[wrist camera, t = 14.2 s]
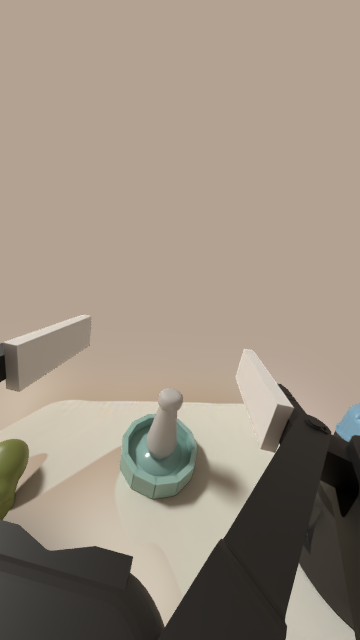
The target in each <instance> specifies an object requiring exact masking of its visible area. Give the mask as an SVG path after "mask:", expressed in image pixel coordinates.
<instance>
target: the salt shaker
mask: <svg viewBox="0 0 360 640" xmlns="http://www.w3.org/2000/svg"><path fill="white" fill-rule="evenodd" d="M182 402H183V397H182V394H181V393H180V392H179V391H178V390H176V389H174V388H166V389H164V390H162V391H161V392H160V395H159V398H158V403H159V409H158V411H157V413H156V416H155V418H154V420H153V423H152V425H151V428H150V430H149V432H148V435H147V442H146V445H147V448H148V450H149V452H150V456H151V457H152V458H154V459H156V460H158V461H161V460H163V459H165V458H167V457H169V456H170V455H171V454H172V453H173V452H174V450H175V447H176V445H177V410H179V409H180V407H181V405H182Z"/></svg>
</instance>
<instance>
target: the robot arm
mask: <svg viewBox="0 0 360 640" xmlns="http://www.w3.org/2000/svg"><path fill="white" fill-rule="evenodd" d="M90 330H91V316H88V315H80V316H78V317H74V318H71V319H68V320H66V321H63V322H60V323H57V324H54V325H51V326H48V327H46V328H43V329H40V330H37V331H34V332H31V333H29V334H26V335H23V336H20V337H17V338H14V339H11V340H9V341H6V342H3V343H1V344H0V382H1V381H3V380H5V379H6V388H7V389H10V390H14V391H19V392H20V391H21V390H23V389H24V388H26V387H27V386H29V385H30V384H32V383H33V382H35V381H37V380H38V379H40V378H41V377H42V376H44V375H46V374H47V373H49V372H50V371H52V370H53V369H55V368H56V367H58V366H59V365H61V364H62V363H64V362H65V361H67V360H68V359H70V358H72V357H73V356H75V355H76V354H78V353H79V352H81V351H82V350H83V349H85V348H87V347H88V346H90ZM235 378H236V381H237V383H238V386H239V390H240V392H241V395H242V398H243V401H244V404H245V407H246V410H247V413H248V415H249V418H250V421H251V424H252V427H253V430H254V433H255V436H256V438H257V441H258V444H259V447H260V449H263V450H267V451H271V452H276V450H277V447H278V445H279V443H280V447H279V448H278V450H277V452H276V453H275V455H274V456H273V458H272V460H271V461H270V463H269V465H268V466H267V468H266V470H265V471H264V473H263V475H262V476H261V478H260V480H259V481H258V483H257V485H256V486H255V488H254V490H253V491H252V493H251V495H250V496H249V498H248V499H247V501H246V503H245V504H244V506H243V508H242V509H241V511H240V513H239V514H238V516H237V518H236V519H235V521H234V523H233V524H232V526H231V528H230V529H229V531H228V533H227V534H226V536H225V537H224V538H223V539H221V540H220V541H219V542H218V543H217V545H216V546H215V548H214V549H213V551H212V552H211V554H210V556H209V557H208V559H207V561H206V562H205V564H204V565H203V567H202V569H201V570H200V572H199V573H198V575H197V577H196V578H195V580H194V581H193V583H192V585H191V586H190V588H189V590H188V591H187V593H186V594H185V596H184V598H183V599H182V601H181V602H180V604H179V606H178V607H177V609H176V610H175V612H174V614H173V615H172V617H171V619H170V620H169V622H168V623H167V625H166V627H164V624H163V621H162V619H161V616H160V613H159V611H158V609H157V607H156V605H155V603H154V601H153V599H152V597H151V596H150V594H149V593H148V591H147V590H146V588H145V587H144V586H143V585H142V584H141V582H140V581H139V580H138V579H137V578H136V577H135V576H133V575H132V574H131V573H130V570H131V565H132V559H133V557H132V556H129V555H125V554H122V553H118V552H114V551H111V550H107V549H103V548H100V547H96V546H93V547H83V548H75V549H65V550H57V551H49V550H47V549H45V548H44V547H43V546H42V545H41V544H40V543H39V542H38V541H37V540H35V539H34V538H33V537H32V536H31V535H30V534H29V533H28V532H27V531H25V530H24V529H23V528H22V527H21V526H20V525H17V524H14V523H10V522H6V521H3V520H0V640H285V639H286V631H287V625H286V623H285V615H286V611H287V606H288V603H289V599H290V595H291V591H292V587H293V583H294V579H295V575H296V571H297V567H298V564H299V563H300V565H301V567H302V569H303V570H304V572H305V573H306V575H307V577H308V578H309V580H310V581H311V582H312V584H313V585H314V587H315V588H316V589H317V591H318V592H319V593H320V595H321V596H322V597H323V598H324V600H325V601H326V602H327V603H328V604H329V605H330V607H331V608H332V609H333V610H334V611H335V612H336V613H337V614H338V615H339V616H340V617H341V618H342V619H343V620H344V621H345V622H346V623H347V624H348V625H349V626H351V627H352V628H353V629H354V631H355V637H356V640H360V403H359V404H356V405H353V406H352V407H350V408H349V409H348V411H347V412H346V414H345V415H344V417H343V419H342V420H341V422H339V423H338V424H337V425H336V431H335V433H334V435H331V431H330V430H329V428H328V427H327V426H326V425H325V424H324V423H323V422H321V421H320V420H318V419H317V418H314V417H312V416H310V415H307V414H306V413H305V411H304V410H303V409H302V408H301V406H300V405H299V404H298V402H297V401H296V400H295V398H294V397H292V395H291V393H290V392H289V391H288V389H286V388H285V387H284V386H282V385H281V384H277V383H276V382H275V380H274V379H273V377H272V376H271V375H270V373H269V372H268V371H267V369H266V368H265V366H264V365H263V363H262V362H261V360H260V359H259V358H258V356H257V355H256V353H255V352H254V351H253V350H249V349H244V350H243V354H242V357H241V360H240V364H239V367H238V371H237V374H236V377H235Z"/></svg>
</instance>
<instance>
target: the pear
mask: <svg viewBox="0 0 360 640" xmlns="http://www.w3.org/2000/svg"><path fill="white" fill-rule="evenodd" d="M28 458H29V449H28V446H27V444H26V443H25V442H24V441H22V440H19V439H10V440H6V441H3V442H1V443H0V520H3V518H4V517H5V516H6V514H7V512H8V511H9V510H10V509H11V507H12V506H13V504H14V500H15V490H16V486H17V483H18V480H19V479H20V477H21V476H22V474H23V472H24V470H25V468H26V465H27V462H28Z"/></svg>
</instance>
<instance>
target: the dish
mask: <svg viewBox="0 0 360 640" xmlns="http://www.w3.org/2000/svg"><path fill="white" fill-rule="evenodd" d="M155 416H156V414H148V415H146V416H144V417H142V418H140V419H138V420H136V421H134V422H133V423H132V424H131V425H130V427H129V428H128V430H127V431H126V432H125V434H124V435H123V439H122V446H121V460H120V470H121V471H122V473H123V475H124V477H125V479H126V480H127V482H128V484H129V486H130V488H131V487H132V488H131V489H133V490H135V491H137V492H139V493H141V494H143V495H145V496H147V497H149V498H151V499H152V497H153V499H157V498H163V497H169V496H175V495H176V494H177V493H178V492H179V491H180V490H181V489H182V488H183V487H184V486H185V485H186V484H187V483H188V482H189V481H190V480H191V477H192V473H193V470H194V466H195V461H196V456H197V451H198V448H197V445H196V442H195V439H194V436H193V434H192V432H191V431H190V430H189V429H188V428H187V427H186V426H185V425H184V424H183V423H182V422H181V421H179V420H178V419H177V445H176V447H175V450H174V452H173V453H172V454H171V455H170V456H169V457H167V458H165V459H163V460H161V461H158V460H156V459H154V458H152V457H151V456H150V452H149V450H148V448H147V445H146V442H147V435H148V432H149V430H150V428H151V425H152V423H153V420H154V418H155Z"/></svg>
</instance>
